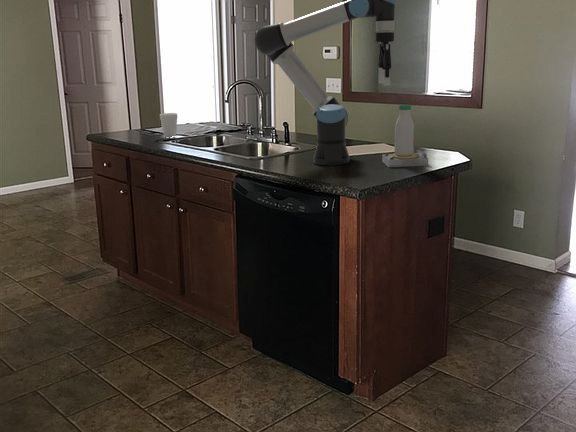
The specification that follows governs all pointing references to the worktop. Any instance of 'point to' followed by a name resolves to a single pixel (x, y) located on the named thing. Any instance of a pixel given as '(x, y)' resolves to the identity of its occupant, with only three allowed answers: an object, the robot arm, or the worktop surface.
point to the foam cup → (169, 124)
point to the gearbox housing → (405, 159)
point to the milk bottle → (404, 132)
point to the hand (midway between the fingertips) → (384, 84)
